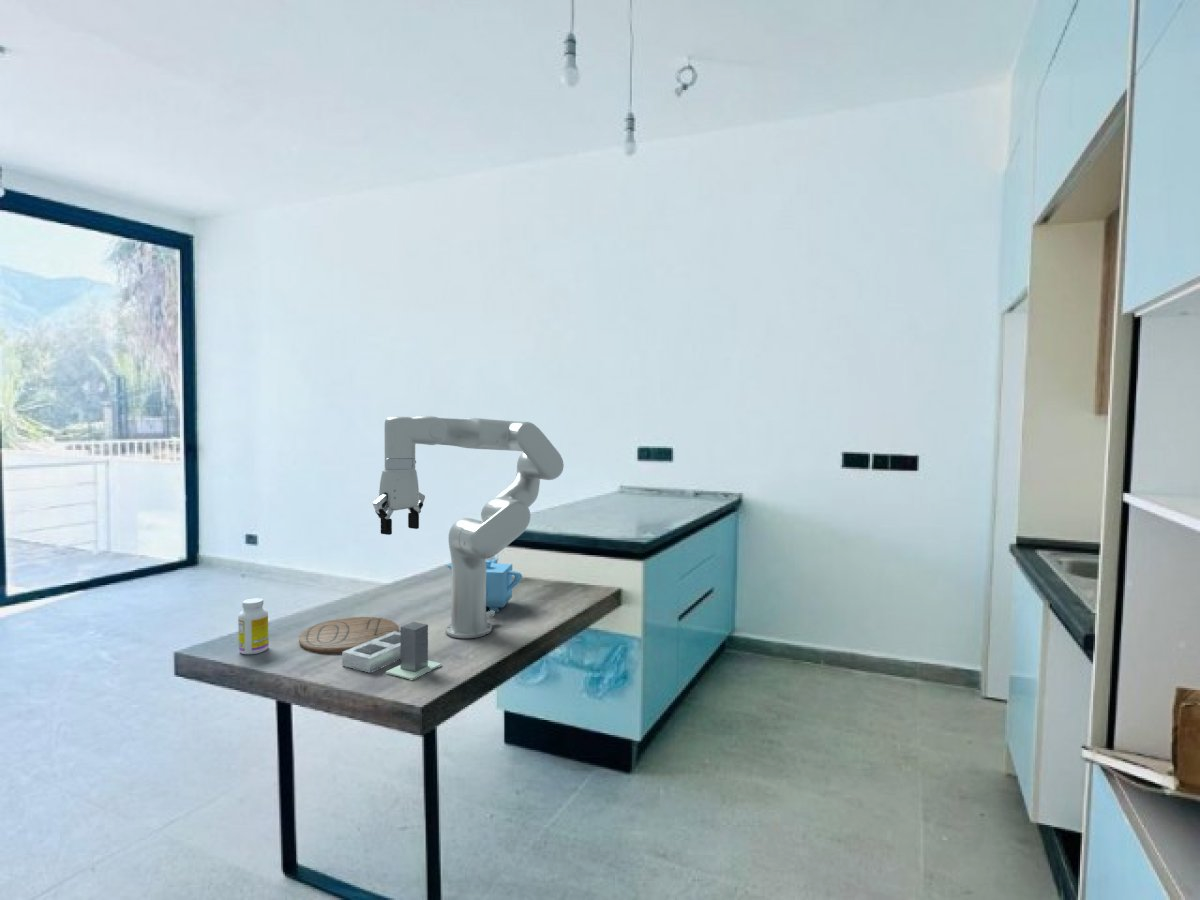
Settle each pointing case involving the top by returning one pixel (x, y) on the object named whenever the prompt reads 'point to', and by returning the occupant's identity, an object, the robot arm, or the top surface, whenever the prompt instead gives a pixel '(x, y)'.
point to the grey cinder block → (374, 653)
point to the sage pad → (410, 674)
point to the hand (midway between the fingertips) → (400, 531)
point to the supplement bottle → (253, 627)
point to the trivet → (344, 633)
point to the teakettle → (499, 583)
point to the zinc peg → (414, 646)
